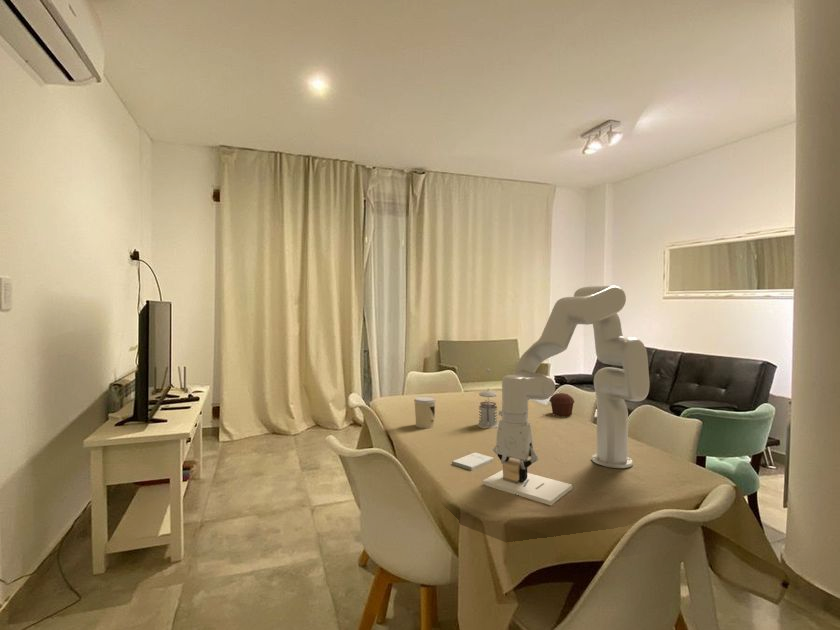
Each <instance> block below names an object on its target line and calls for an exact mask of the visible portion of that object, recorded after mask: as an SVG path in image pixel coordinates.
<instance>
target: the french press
mask: <svg viewBox="0 0 840 630" xmlns="http://www.w3.org/2000/svg"><path fill="white" fill-rule="evenodd" d="M485 372H487V373H489V372H491V369H490V368H486V369H485ZM478 395H479V396H480V397H484V398H492V397H493V398H494V397H497V396H498V393H496V392H495V391H492V390H489V389H486V390H483V391H481V392H480V393H478ZM479 404H480V405H479V406H478V409H479V410H478V412H479V413H478V423H477V424H476V426H477V427H479V428H481V429H482V428H483V429H497V428H498V425H499V422H498V407H497V403H496V402H494V401H491V400H488V401H481V402H480V403H479ZM496 427H497V428H496Z"/></svg>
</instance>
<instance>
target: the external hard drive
mask: <svg viewBox="0 0 840 630" xmlns="http://www.w3.org/2000/svg"><path fill="white" fill-rule="evenodd" d="M494 459H495V458H494V457H492V456H489V455H485V454H482V453H479V452H472V453H470V454H468V455H465V456H462V457H460V458H457V459H454V460H453V461H451V465H453V466H456V467H459V468H461V469H464V470H465V469H466V470H469V471H473V470H474V471H475V470H476V469H478V468H480V467H482V466H485V465H487V464H490V463H492V462H494V461H493V460H494ZM491 461H492V462H491Z"/></svg>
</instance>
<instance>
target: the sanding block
mask: <svg viewBox="0 0 840 630" xmlns="http://www.w3.org/2000/svg"><path fill="white" fill-rule="evenodd" d="M520 469H521V465H520V460H519V459H515V458H511V457H510V459H509V460H508V461H506V462H504V463H503V464H502V470H503V480H505V481H508V482H512V483H515V484H518V483H519V470H520Z"/></svg>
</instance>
